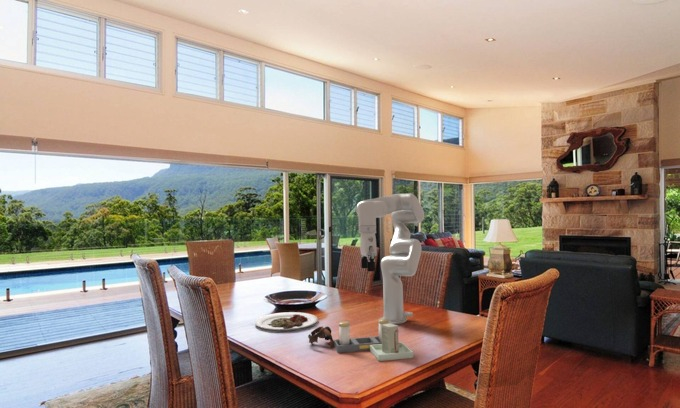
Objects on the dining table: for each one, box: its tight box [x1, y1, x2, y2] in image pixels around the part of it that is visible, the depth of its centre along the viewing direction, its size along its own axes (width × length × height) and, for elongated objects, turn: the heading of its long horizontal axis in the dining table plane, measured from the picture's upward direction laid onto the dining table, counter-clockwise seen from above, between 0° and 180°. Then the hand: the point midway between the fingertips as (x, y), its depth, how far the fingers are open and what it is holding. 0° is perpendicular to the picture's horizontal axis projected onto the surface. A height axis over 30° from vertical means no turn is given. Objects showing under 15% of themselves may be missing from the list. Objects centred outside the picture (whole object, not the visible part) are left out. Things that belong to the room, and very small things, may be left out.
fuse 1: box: [338, 320, 351, 345], centre depth 155 cm, size 4×4×10 cm
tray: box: [369, 341, 414, 362], centre depth 149 cm, size 13×11×2 cm
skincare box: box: [381, 323, 400, 354], centre depth 149 cm, size 5×4×10 cm
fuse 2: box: [377, 318, 389, 342], centre depth 159 cm, size 4×4×10 cm
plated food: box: [254, 311, 319, 331], centre depth 193 cm, size 30×30×3 cm
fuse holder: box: [333, 335, 382, 354], centre depth 157 cm, size 23×8×2 cm, turn 102°
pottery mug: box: [307, 325, 334, 348], centre depth 161 cm, size 12×10×8 cm
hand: (367, 269), depth 171 cm, fingers open, 9 cm apart
